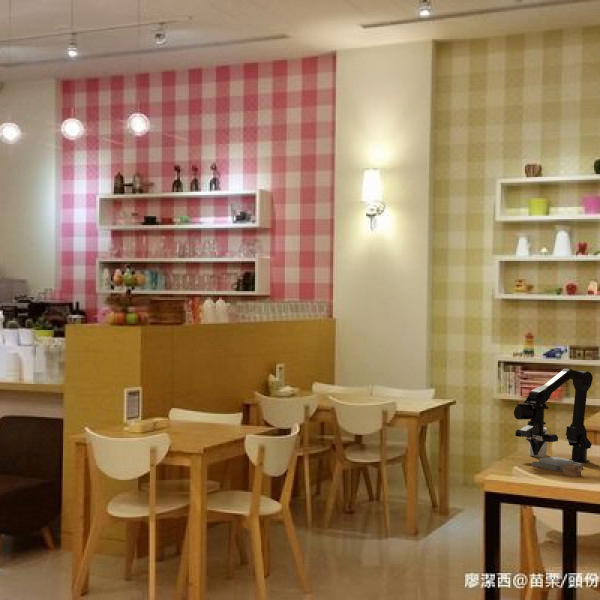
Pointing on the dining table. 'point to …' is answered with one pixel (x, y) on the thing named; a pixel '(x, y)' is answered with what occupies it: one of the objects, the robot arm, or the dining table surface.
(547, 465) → the display bay
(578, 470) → the walnut block
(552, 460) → the carton
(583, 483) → the dining table surface
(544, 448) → the supplement box
